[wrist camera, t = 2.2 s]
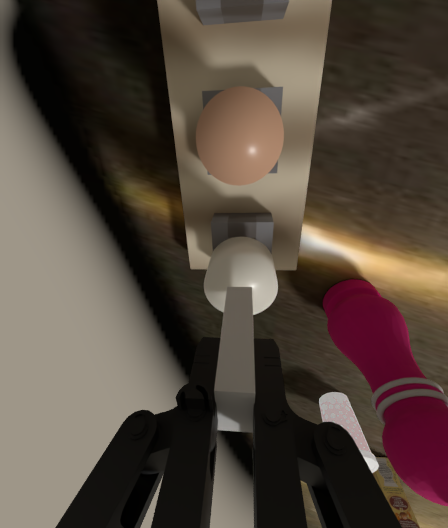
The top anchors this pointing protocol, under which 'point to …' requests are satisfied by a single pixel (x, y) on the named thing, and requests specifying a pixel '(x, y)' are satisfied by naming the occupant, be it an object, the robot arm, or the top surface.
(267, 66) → the knob board
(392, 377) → the pepper mill
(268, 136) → the middle pink knob
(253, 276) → the knob
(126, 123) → the top surface
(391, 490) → the candy box
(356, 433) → the beverage cup
